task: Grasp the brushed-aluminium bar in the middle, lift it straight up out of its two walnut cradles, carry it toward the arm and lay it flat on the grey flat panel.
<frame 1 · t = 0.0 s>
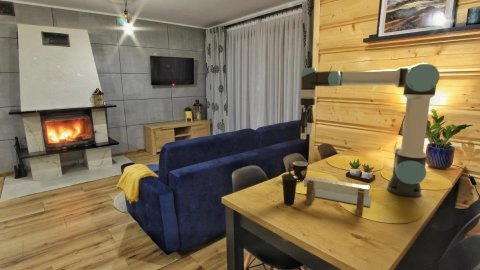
hand: (306, 136, 143), 28 cm above the table, fingers open, 13 cm apart
coffee mug: (297, 179, 156), on the table
walnut cradles: (334, 206, 122), on the table
alu bar: (335, 190, 121), point 8 cm above the table, touching walnut cradles
drinking cup: (289, 203, 126), on the table
grey flat panel: (337, 196, 133), on the table
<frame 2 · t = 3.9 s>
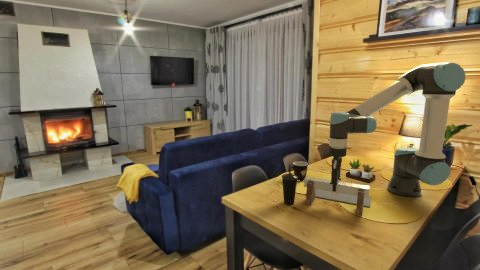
hand: (334, 195, 121), 6 cm above the table, fingers closed on alu bar, 4 cm apart
alu bar: (335, 190, 121), point 8 cm above the table, touching gripper, walnut cradles
everything else where it was.
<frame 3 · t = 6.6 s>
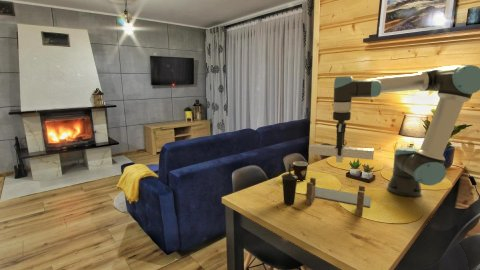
hand: (339, 160, 123), 21 cm above the table, fingers closed on alu bar, 4 cm apart
alu bar: (339, 155, 122), point 23 cm above the table, touching gripper
everything else where it was.
when the fingers open (1 cm above the table, at t = 9.5 s): alu bar drops 3 cm, resting on grey flat panel.
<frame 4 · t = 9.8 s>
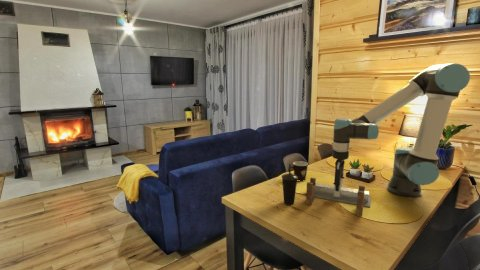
hand: (338, 193, 132), 2 cm above the table, fingers open, 7 cm apart
alu bar: (337, 195, 132), point 1 cm above the table, touching grey flat panel
everything else where it was.
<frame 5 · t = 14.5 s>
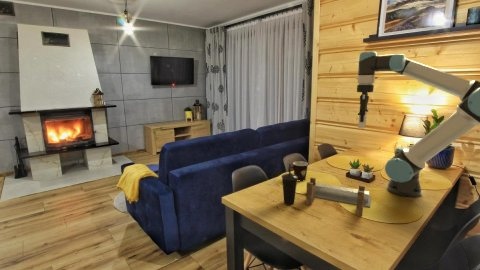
hand: (362, 126, 134), 35 cm above the table, fingers open, 13 cm apart
nothing on the table moved.
at the end: alu bar inside the target area on the grey flat panel (0.0 cm from its centre), point 0.6 cm above the grey flat panel's base; alu bar tilted 0°; the gripper is holding nothing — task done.
